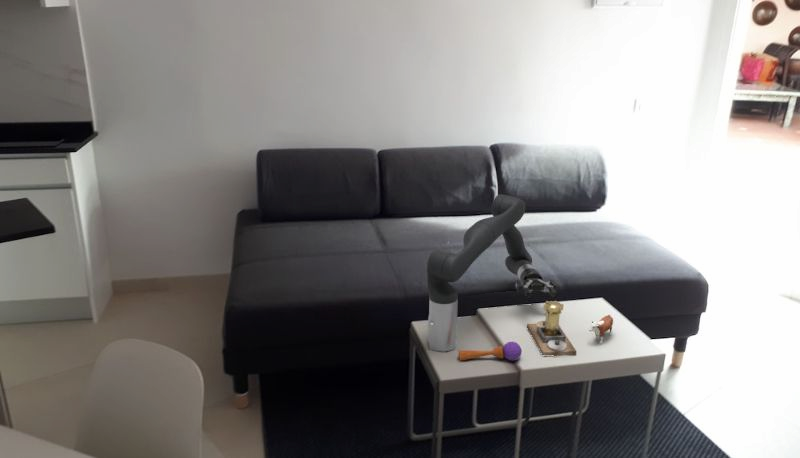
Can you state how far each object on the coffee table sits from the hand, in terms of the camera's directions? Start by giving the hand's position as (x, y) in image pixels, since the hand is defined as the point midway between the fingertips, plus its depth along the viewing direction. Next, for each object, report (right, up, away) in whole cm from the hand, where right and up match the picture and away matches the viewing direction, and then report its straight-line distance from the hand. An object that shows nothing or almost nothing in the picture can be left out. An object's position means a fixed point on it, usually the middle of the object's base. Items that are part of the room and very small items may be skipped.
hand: (541, 294), depth 221 cm
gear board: (+1, -15, -7) cm, 17 cm away
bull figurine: (+19, -15, -6) cm, 25 cm away
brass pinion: (+1, -13, -8) cm, 16 cm away
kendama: (-21, -19, -18) cm, 34 cm away
